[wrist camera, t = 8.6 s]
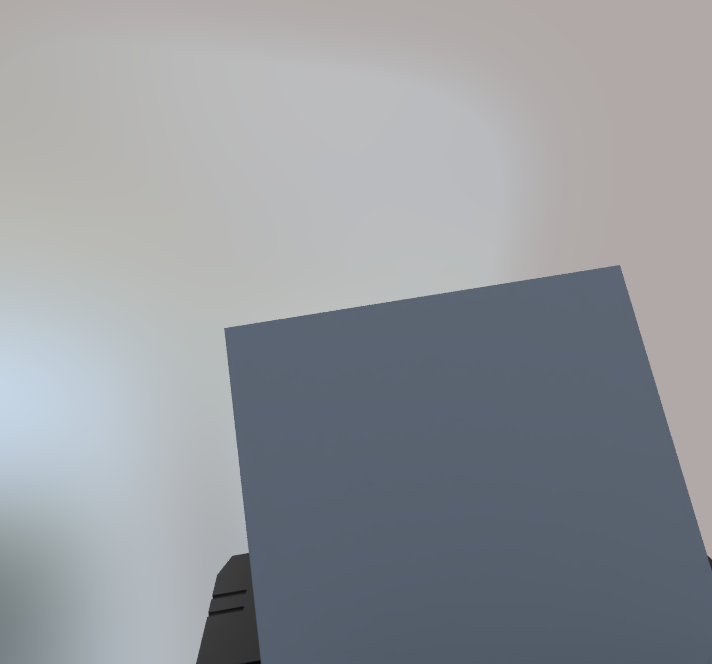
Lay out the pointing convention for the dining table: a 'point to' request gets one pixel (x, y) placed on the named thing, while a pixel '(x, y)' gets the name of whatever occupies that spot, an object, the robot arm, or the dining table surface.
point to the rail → (467, 483)
